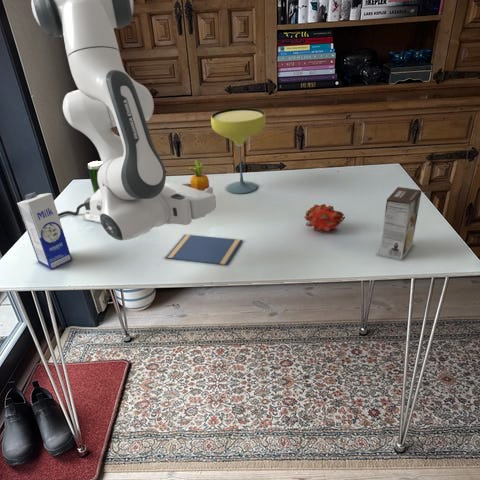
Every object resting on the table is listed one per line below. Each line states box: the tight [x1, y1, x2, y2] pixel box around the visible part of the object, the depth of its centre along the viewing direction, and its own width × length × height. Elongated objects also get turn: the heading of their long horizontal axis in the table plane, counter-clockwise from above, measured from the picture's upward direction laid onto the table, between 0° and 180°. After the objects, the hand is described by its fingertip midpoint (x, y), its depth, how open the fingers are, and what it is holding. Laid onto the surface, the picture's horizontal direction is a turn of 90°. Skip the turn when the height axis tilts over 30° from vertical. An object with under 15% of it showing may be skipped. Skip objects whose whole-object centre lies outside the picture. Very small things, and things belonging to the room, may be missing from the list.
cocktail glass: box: [210, 107, 267, 195], centre depth 164 cm, size 18×18×25 cm
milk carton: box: [16, 192, 73, 270], centre depth 130 cm, size 7×7×20 cm
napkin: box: [165, 234, 243, 266], centre depth 136 cm, size 18×14×1 cm
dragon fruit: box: [304, 203, 346, 234], centre depth 140 cm, size 8×8×12 cm
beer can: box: [87, 160, 102, 194], centre depth 169 cm, size 5×5×12 cm
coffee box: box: [379, 186, 423, 261], centre depth 125 cm, size 9×6×16 cm
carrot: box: [188, 159, 210, 218], centre depth 125 cm, size 5×5×15 cm
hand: (202, 187), depth 125 cm, fingers closed on carrot, 5 cm apart
